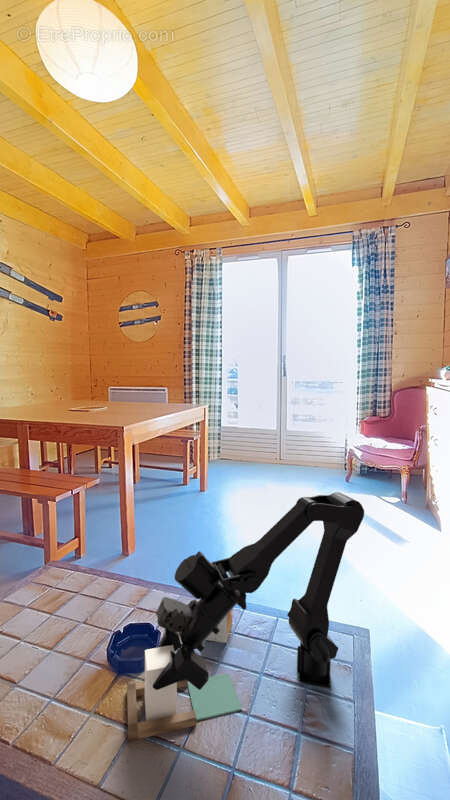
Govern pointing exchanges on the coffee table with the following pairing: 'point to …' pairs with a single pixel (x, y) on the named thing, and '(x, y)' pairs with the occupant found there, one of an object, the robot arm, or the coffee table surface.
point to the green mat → (214, 697)
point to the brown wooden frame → (157, 724)
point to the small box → (222, 630)
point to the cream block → (164, 698)
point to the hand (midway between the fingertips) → (153, 675)
